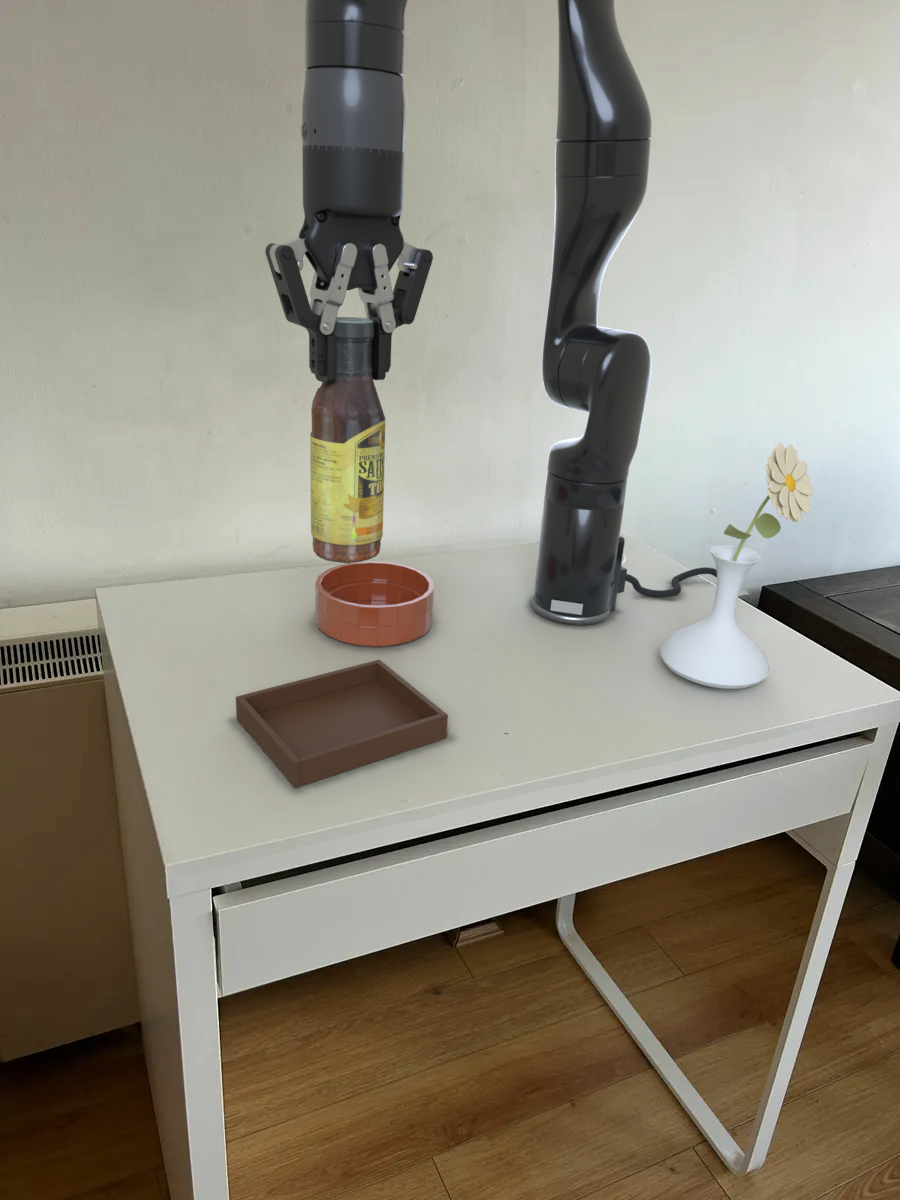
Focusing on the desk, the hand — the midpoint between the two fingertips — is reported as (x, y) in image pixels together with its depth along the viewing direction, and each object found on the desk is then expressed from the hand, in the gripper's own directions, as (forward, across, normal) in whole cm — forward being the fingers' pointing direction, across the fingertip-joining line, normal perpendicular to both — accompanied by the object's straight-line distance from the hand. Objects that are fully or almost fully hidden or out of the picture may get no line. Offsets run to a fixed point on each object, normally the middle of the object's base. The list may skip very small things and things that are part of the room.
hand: (350, 378), depth 73 cm
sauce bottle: (+15, 0, 0) cm, 15 cm away
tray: (+31, -2, -3) cm, 31 cm away
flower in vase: (+31, +38, -13) cm, 51 cm away
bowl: (+31, +12, +15) cm, 37 cm away
